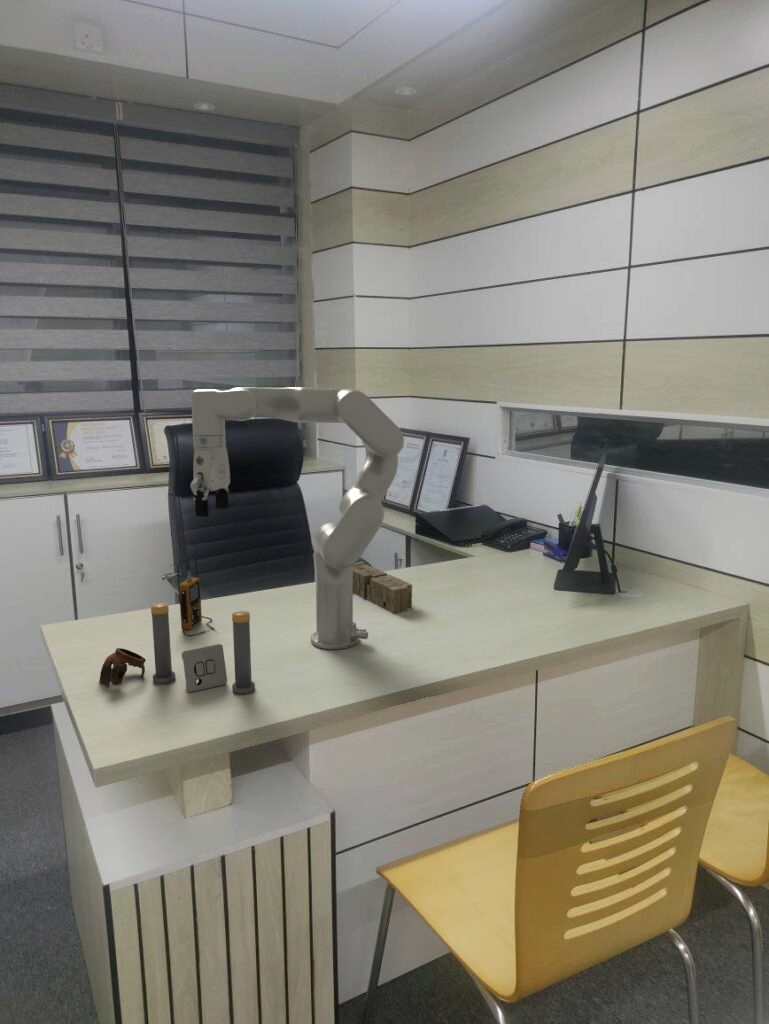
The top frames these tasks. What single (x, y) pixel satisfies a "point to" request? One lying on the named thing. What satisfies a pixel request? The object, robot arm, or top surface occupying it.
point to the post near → (242, 654)
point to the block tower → (381, 588)
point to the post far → (162, 644)
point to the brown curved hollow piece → (120, 666)
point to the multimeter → (190, 601)
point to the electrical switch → (204, 667)
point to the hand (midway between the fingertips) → (212, 512)
